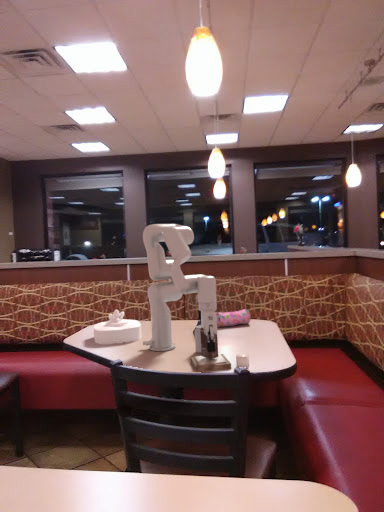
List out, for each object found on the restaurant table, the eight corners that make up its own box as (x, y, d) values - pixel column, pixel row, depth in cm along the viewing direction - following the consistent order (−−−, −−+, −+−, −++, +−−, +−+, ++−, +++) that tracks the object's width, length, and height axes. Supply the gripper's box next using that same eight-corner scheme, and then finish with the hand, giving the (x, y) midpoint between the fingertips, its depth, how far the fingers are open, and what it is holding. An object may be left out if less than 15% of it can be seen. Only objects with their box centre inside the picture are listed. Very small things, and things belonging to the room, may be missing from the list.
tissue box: (93, 335, 228) (92, 307, 227) (137, 331, 235) (135, 304, 234) (95, 346, 204) (93, 315, 203) (144, 340, 211) (142, 310, 210)
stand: (196, 372, 155) (196, 365, 155) (191, 361, 169) (190, 355, 169) (231, 368, 158) (231, 362, 158) (223, 358, 171) (222, 352, 171)
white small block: (238, 369, 157) (237, 358, 156) (235, 365, 161) (234, 354, 161) (250, 368, 157) (250, 356, 157) (247, 364, 162) (246, 353, 162)
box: (200, 356, 164) (199, 327, 164) (208, 354, 167) (207, 326, 167) (211, 359, 160) (210, 329, 159) (219, 357, 163) (217, 327, 162)
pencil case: (218, 329, 230) (217, 313, 229) (212, 326, 238) (212, 311, 238) (252, 325, 236) (251, 309, 235) (245, 322, 244) (245, 307, 244)
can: (206, 354, 178) (205, 328, 178) (192, 353, 182) (191, 327, 182) (214, 350, 185) (213, 324, 184) (200, 348, 189) (199, 323, 188)
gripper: (221, 309, 155) (223, 354, 155) (212, 302, 172) (213, 343, 173) (202, 310, 154) (204, 356, 154) (195, 303, 171) (196, 344, 171)
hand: (209, 348), depth 163 cm, fingers closed on box, 7 cm apart
